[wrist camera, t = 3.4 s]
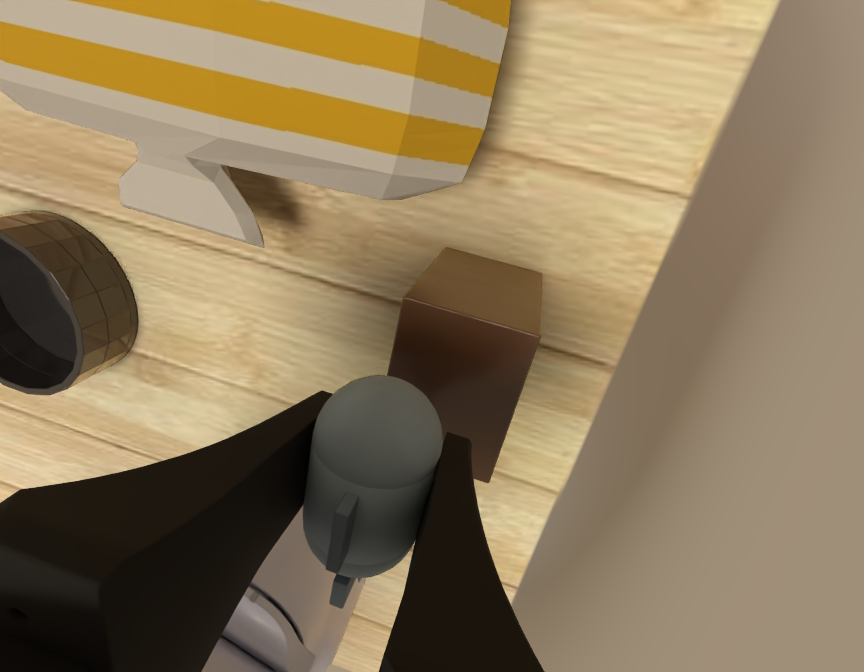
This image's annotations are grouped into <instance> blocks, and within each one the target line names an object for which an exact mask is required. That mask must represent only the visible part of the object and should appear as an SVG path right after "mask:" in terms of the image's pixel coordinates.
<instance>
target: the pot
mask: <svg viewBox="0 0 864 672" xmlns="http://www.w3.org/2000/svg"><path fill="white" fill-rule="evenodd" d="M136 331H137V311H136V305H135V301H134V297H133V293H132V291H131V288H130V286H129V283H128V281H127V279H126V277H125V275H124V273H123V271H122V270H121V268H120V267H119V265H118V263H117V262H116V261H115V259H114V258H113V257H112V255H111V254H110V253H109V251H108V250H107V249H106V248H105V247H104V246H103V245H102V244H101V243H100V242H99V241H98V240H97V239H96V238H95V237H94V236H93V235H92V234H90V233H89V232H88V231H86V230H85V229H84V228H82V227H81V226H79V225H77V224H76V223H74V222H73V221H70V220H68V219H66V218H64V217H62V216H59V215H56V214H53V213H48V212H42V211H30V212H24V213H11V214H5V215H0V383H2V384H3V385H5V386H7V387H10V388H12V389H15V390H18V391H21V392H24V393H26V394H34V395H52V394H55V393H58V392H60V391H63V390H66V389H68V388H70V387H72V386H74V385H76V384H77V383H79V382H81V381H83V380H85V379H87V378H89V377H90V376H92V375H94V374H96V373H98V372H100V371H102V370H104V369H105V368H107V367H109V366H111V365H113V364H114V363H115V362H117V361H118V360H120V359H121V358H122V357H123V356H124V355H126V354H127V352H128V351H129V349H130V348H131V346H132V344H133V342H134V339H135V335H136Z"/></svg>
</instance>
